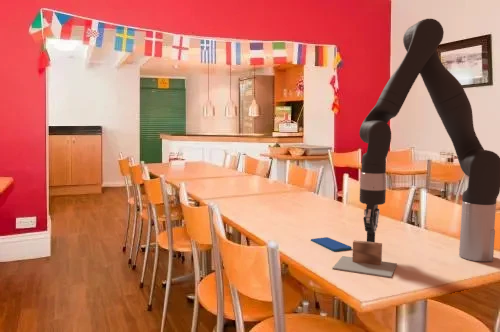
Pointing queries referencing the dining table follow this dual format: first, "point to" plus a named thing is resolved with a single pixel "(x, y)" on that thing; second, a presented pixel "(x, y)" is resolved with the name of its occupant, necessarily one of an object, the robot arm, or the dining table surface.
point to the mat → (365, 267)
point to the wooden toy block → (367, 252)
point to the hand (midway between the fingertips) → (370, 243)
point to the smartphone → (331, 244)
